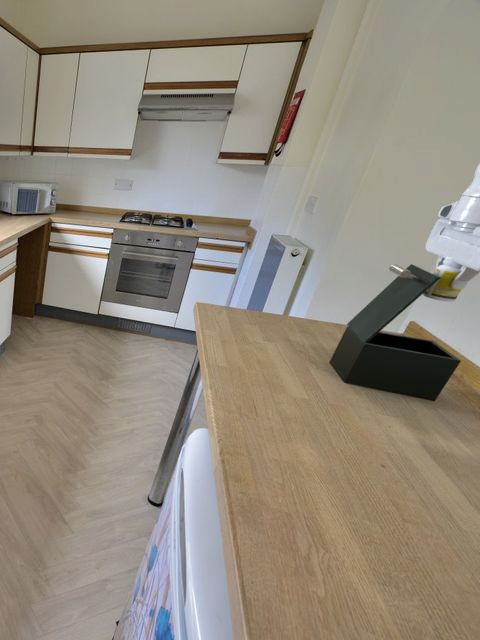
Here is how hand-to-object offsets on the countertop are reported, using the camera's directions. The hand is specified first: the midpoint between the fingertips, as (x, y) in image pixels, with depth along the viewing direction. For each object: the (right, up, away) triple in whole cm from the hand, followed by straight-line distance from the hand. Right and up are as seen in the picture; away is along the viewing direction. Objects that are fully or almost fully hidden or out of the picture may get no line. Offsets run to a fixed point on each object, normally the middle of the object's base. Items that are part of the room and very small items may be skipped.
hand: (446, 283), depth 84 cm
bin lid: (-8, -4, +4) cm, 9 cm away
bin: (-4, -21, +10) cm, 23 cm away
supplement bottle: (0, -3, +1) cm, 3 cm away
